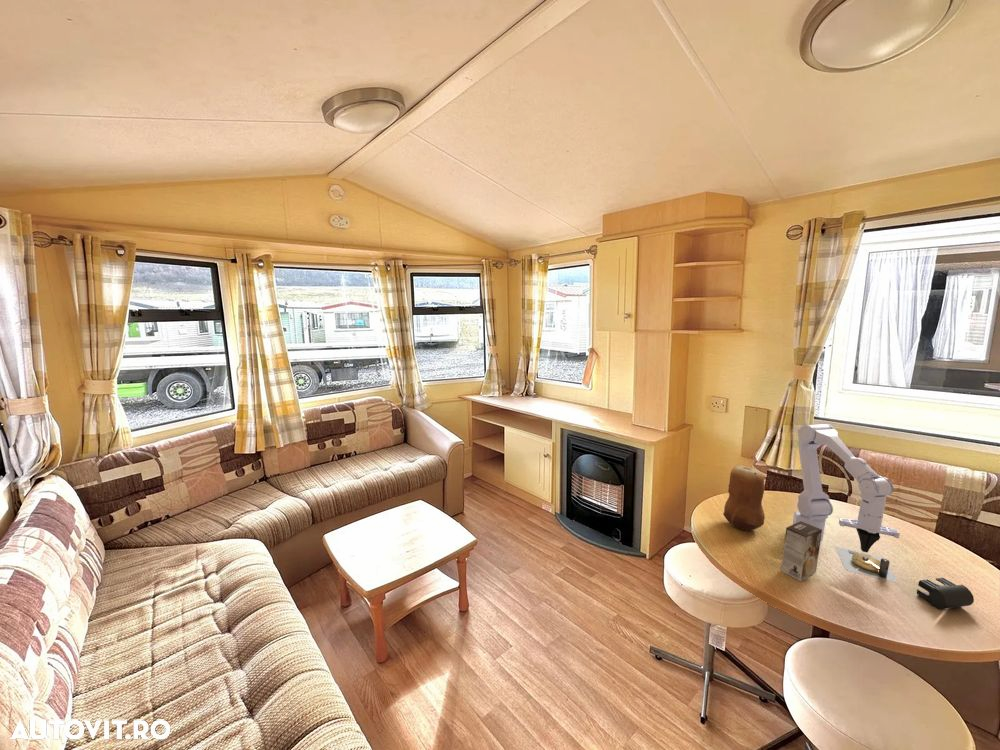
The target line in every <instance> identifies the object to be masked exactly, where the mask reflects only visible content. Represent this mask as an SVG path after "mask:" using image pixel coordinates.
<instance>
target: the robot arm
mask: <svg viewBox="0 0 1000 750" xmlns="http://www.w3.org/2000/svg"><path fill="white" fill-rule="evenodd" d="M796 431H797V438H798V442H797V447H798V453H799V454H798V455H799V460H800V468H801V469H800V470H801V476H802V483H803V491H802V492H800V493H799V494H798V496H797V497H798V498H797V499H798V500H797V510H798V511H796V512H794V514H793V519H792V525H793V524H795V523H798V522H800V521H802V522H804V523H807V524H810V525H812V526H814V527H817V528H819V529H822V533H821V541H823V540H824V535H825V529H826V520H827V519H828V518H829V516H831V515H832V514H833V512H834V506H833V505H832V502H831V500H830V496H829V495H828V494H827V493H826V492H824V491H823V486H822V485H823V484H822V479H821V471H820V463H819V457H818V451H817V450H818V448H819V447H820V446H822V445H823V446H826V447H828V448H829V449H830V450H831V451H832V452H833V453H834V454H835V455H837V456H838V457H839V459H840V460H842V461H843V462H844V466H843V467H844V469H845V470H846V471H847V472H848V473H849V474H850V475H851V476H852V477H853V478H854V480H855V481H856V482H857V483H858V489H859V491H860V498H861V499H860V505H859V510H858V516H857V519H849V518H842V517H840V518H839V521H838V524H839V526H840V527H848V528H852V529H855V530H856V532H857V535H858V538H859V543H860V550H861V552H862V553H866V554H869V553H868V552H870V549H871V547H873V545H874V544H875V543H876V542H877V541H879V540H880V539H881V535H885V536H890V537H893V538H895V539H899V538H900V530H898V529H895V528H892V527H891V528H890V527H888V526H885V525H882V524H883V518H884V514H885V507H886V503H887V497H888V496H890V495H892V494H893V492H894V486H893V483H892V481H890V479H888V478H887V477H885V476H881V475H880V474H878V473H877V472H876V471H875V470H873V468H871V467H870V465H869V464H868V462H867V461H866V460H865V459H863V458H861V457H855V455H854V454H853V453H852V451H851V450H850V449H849V448H848V447H847V445H845V443H844V441H842V439H841V438H840V437H839V432H838V431H837V430H836V429H835V427H834V426H832V424H829V423H821V424H820V423H818V424H803V425H800V427H799V428H798V429H797V430H796Z"/></svg>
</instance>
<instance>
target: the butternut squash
mask: <svg viewBox="0 0 1000 750" xmlns="http://www.w3.org/2000/svg"><path fill="white" fill-rule="evenodd" d="M727 489H728V490H727V491H728V494H729V495H728V498H727V500H726V501H725V504H724V509H723V514H722V515H723V517H724V518H725V519H726V521H727V522H728V523H729V524H730V525H732V526H733V527H735V528H737V529H740V530H743V531H753V530H754V531H755V530H757V529H759V528H761V527H762V526H763V525H764V524H765V519H766V517H765V516H766V515H765V511H764V509H763V504H762V502H763V501H762V500H763V497H764V492H765V478H764V475H763V473H762V472H761V471H760V470H758V469H756V468H752V467H748V466H745V465H735V466H734V467H733V468H732V470H731V471H730V473H729V483H728V488H727Z"/></svg>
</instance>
